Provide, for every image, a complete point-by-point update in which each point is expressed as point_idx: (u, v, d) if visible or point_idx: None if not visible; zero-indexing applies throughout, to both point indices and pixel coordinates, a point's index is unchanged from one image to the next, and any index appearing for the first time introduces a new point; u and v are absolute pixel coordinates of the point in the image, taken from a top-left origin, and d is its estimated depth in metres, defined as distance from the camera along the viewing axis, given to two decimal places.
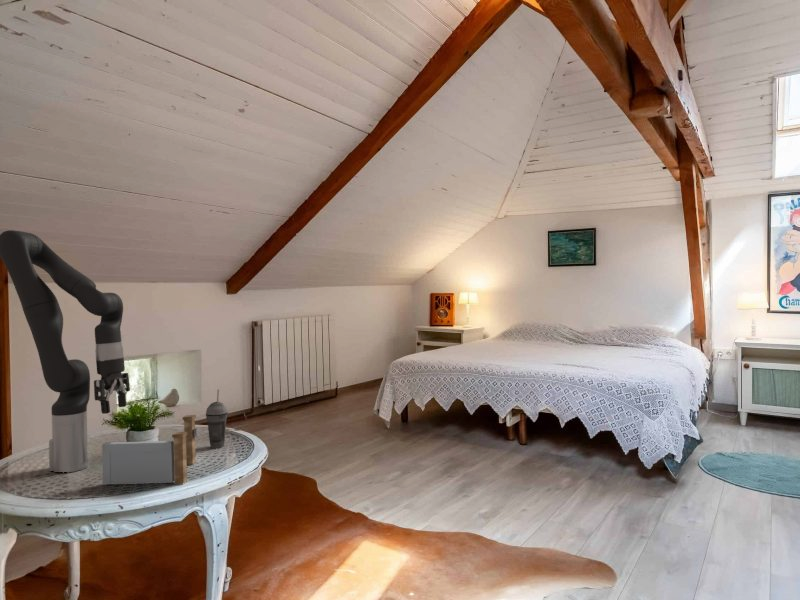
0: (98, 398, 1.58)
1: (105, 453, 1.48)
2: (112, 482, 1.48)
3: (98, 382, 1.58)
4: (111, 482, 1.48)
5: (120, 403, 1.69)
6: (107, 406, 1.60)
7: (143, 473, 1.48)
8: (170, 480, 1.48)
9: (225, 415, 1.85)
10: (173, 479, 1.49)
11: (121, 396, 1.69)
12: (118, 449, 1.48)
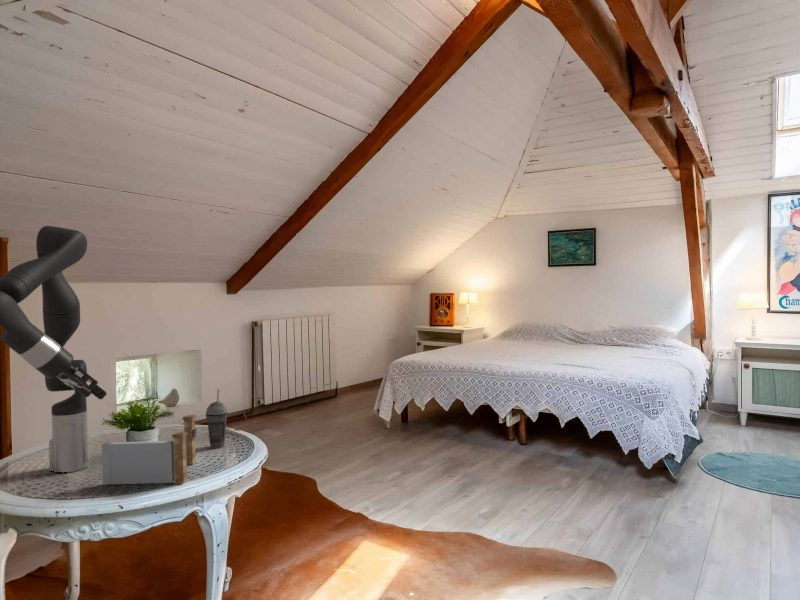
0: None
1: (105, 453, 1.48)
2: (112, 482, 1.48)
3: None
4: (111, 482, 1.48)
5: None
6: None
7: (143, 473, 1.48)
8: (170, 480, 1.48)
9: (225, 415, 1.85)
10: (173, 479, 1.49)
11: None
12: (118, 449, 1.48)
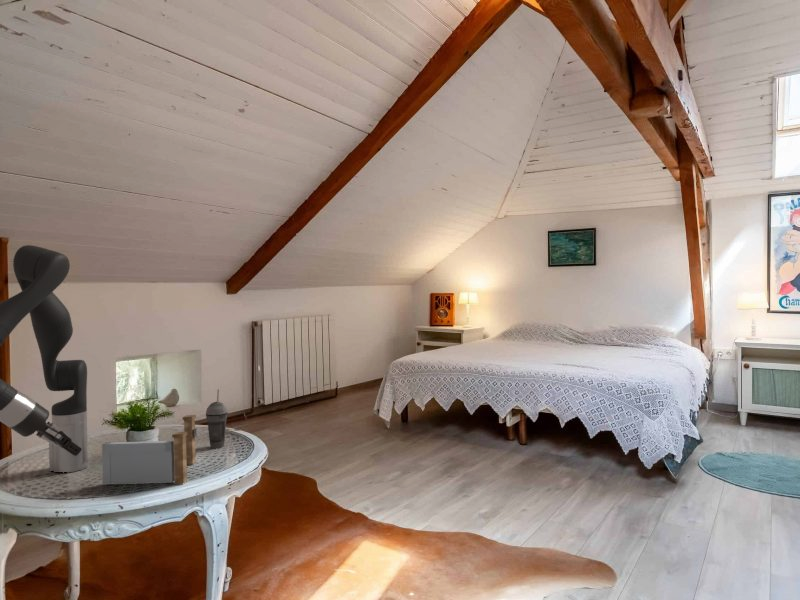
0: None
1: (105, 453, 1.48)
2: (112, 482, 1.48)
3: None
4: (111, 482, 1.48)
5: None
6: None
7: (143, 473, 1.48)
8: (170, 480, 1.48)
9: (225, 415, 1.85)
10: (173, 479, 1.49)
11: None
12: (118, 449, 1.48)
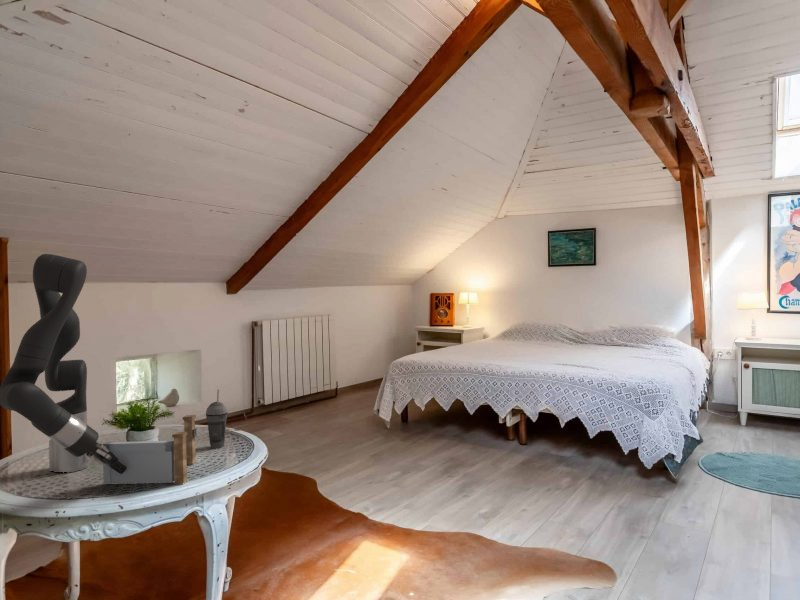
0: None
1: None
2: (112, 482, 1.49)
3: None
4: (111, 482, 1.49)
5: None
6: None
7: (143, 473, 1.48)
8: (170, 480, 1.48)
9: (225, 415, 1.85)
10: (173, 479, 1.49)
11: None
12: (118, 449, 1.48)
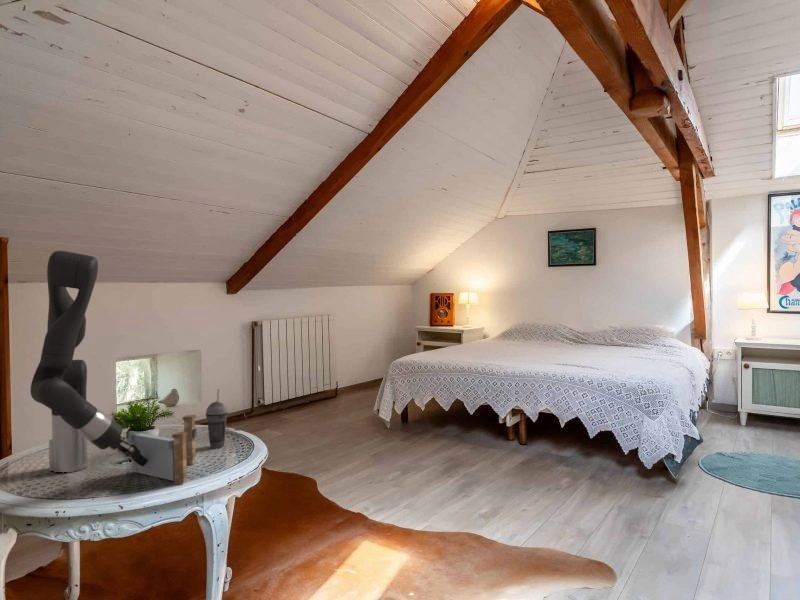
0: None
1: (132, 443, 1.59)
2: (137, 471, 1.58)
3: None
4: (136, 470, 1.58)
5: None
6: None
7: (155, 467, 1.54)
8: (171, 478, 1.50)
9: (225, 415, 1.85)
10: None
11: None
12: (140, 441, 1.57)
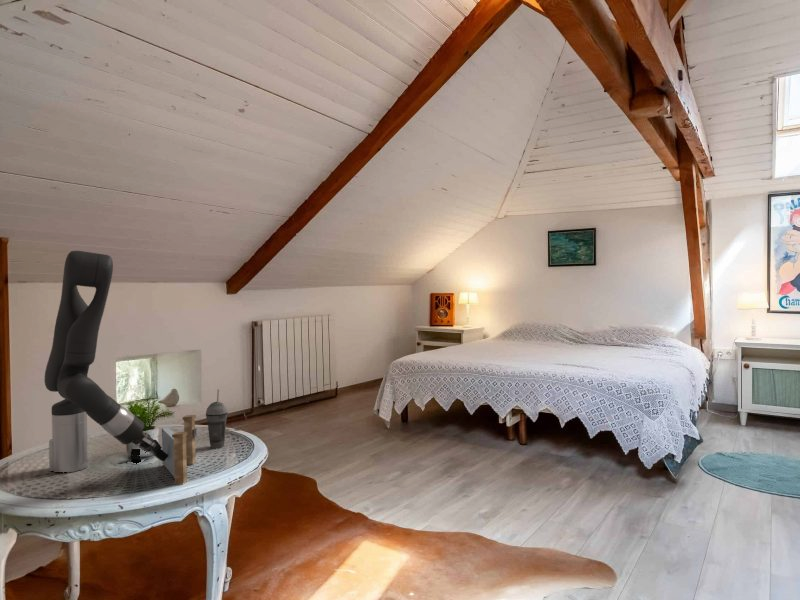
0: None
1: (162, 436, 1.65)
2: (164, 464, 1.64)
3: None
4: (164, 464, 1.64)
5: None
6: None
7: (170, 463, 1.57)
8: None
9: (225, 415, 1.85)
10: None
11: None
12: (164, 435, 1.62)
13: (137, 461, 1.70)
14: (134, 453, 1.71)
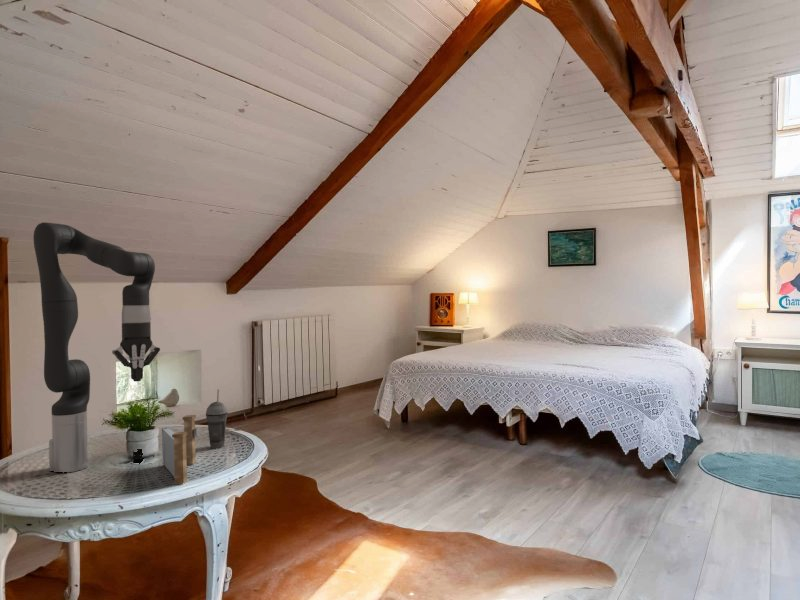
0: (124, 364, 1.53)
1: (162, 436, 1.65)
2: (165, 464, 1.64)
3: (114, 353, 1.51)
4: (164, 464, 1.64)
5: None
6: (135, 374, 1.54)
7: (170, 463, 1.57)
8: None
9: (225, 415, 1.85)
10: None
11: None
12: (164, 435, 1.62)
13: (139, 461, 1.70)
14: (136, 453, 1.71)
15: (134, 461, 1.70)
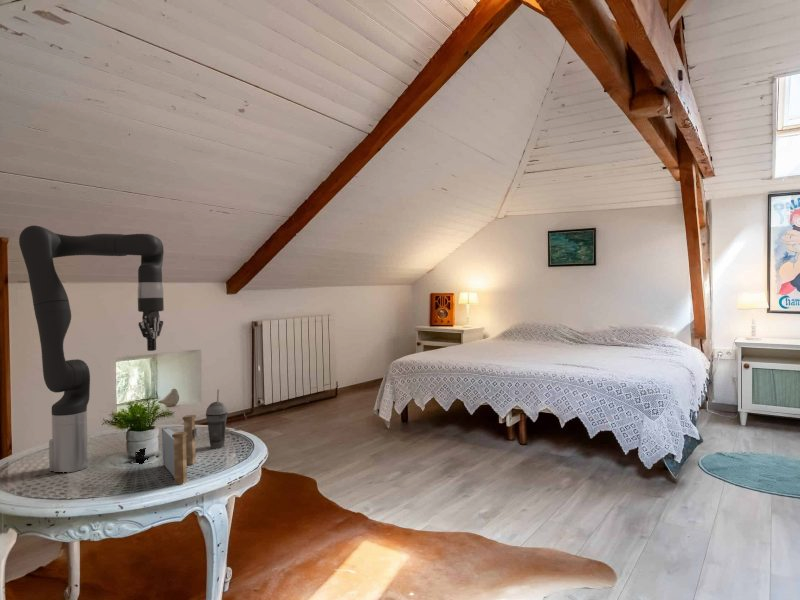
0: None
1: (162, 436, 1.65)
2: (165, 464, 1.64)
3: None
4: (164, 464, 1.64)
5: None
6: None
7: (170, 463, 1.57)
8: None
9: (225, 415, 1.85)
10: None
11: None
12: (164, 435, 1.62)
13: (142, 461, 1.70)
14: (139, 453, 1.71)
15: (136, 461, 1.70)
